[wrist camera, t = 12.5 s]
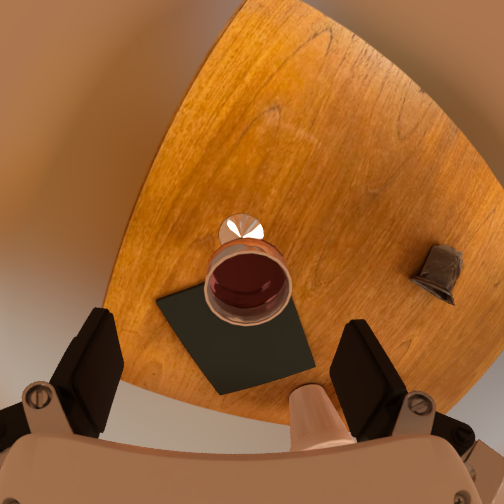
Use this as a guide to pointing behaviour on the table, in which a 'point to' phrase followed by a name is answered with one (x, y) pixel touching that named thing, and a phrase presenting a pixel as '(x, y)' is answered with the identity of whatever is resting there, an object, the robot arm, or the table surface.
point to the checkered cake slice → (440, 272)
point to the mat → (237, 342)
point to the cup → (315, 420)
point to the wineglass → (246, 275)
